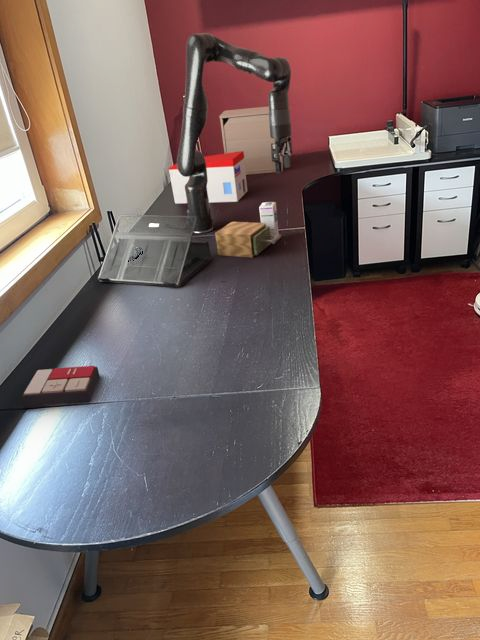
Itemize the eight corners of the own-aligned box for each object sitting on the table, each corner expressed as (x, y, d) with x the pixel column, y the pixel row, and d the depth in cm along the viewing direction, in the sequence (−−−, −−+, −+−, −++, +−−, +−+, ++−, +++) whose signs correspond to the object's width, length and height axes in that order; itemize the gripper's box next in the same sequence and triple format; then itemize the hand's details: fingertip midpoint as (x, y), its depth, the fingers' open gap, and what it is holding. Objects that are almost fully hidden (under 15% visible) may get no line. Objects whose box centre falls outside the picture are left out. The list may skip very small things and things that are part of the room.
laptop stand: (96, 283, 181) (82, 233, 172) (138, 255, 203) (128, 209, 194) (177, 289, 170) (167, 236, 161) (212, 258, 192) (205, 210, 183)
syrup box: (276, 242, 201) (273, 205, 194) (262, 242, 203) (258, 206, 195) (279, 237, 206) (276, 201, 199) (265, 237, 207) (261, 202, 200)
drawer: (285, 244, 195) (284, 227, 192) (272, 256, 186) (270, 238, 182) (240, 241, 203) (238, 224, 200) (225, 252, 194) (222, 235, 190)
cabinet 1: (226, 176, 315) (219, 116, 298) (231, 166, 340) (224, 110, 323) (282, 171, 312) (278, 110, 295) (283, 162, 337) (279, 105, 320)
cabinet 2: (267, 245, 199) (265, 223, 195) (252, 257, 189) (250, 234, 184) (234, 242, 205) (232, 221, 201) (218, 255, 195) (215, 232, 190)
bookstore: (238, 201, 260) (233, 159, 250) (175, 203, 269) (167, 162, 258) (248, 191, 277) (243, 150, 267) (188, 193, 286) (182, 154, 275)
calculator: (86, 389, 116) (20, 393, 115) (90, 404, 118) (25, 408, 118) (97, 363, 125) (36, 367, 125) (100, 378, 128) (40, 381, 127)
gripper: (277, 119, 186) (281, 165, 194) (262, 126, 175) (266, 174, 183) (297, 119, 183) (299, 165, 191) (282, 125, 172) (285, 174, 180)
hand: (283, 170), depth 187 cm, fingers open, 8 cm apart
